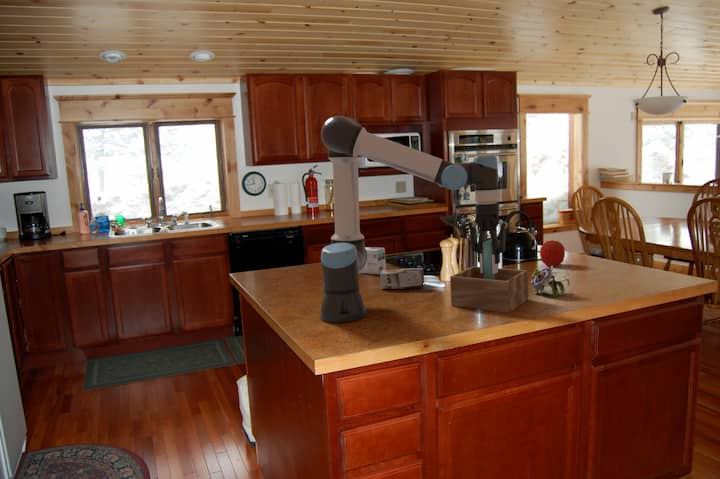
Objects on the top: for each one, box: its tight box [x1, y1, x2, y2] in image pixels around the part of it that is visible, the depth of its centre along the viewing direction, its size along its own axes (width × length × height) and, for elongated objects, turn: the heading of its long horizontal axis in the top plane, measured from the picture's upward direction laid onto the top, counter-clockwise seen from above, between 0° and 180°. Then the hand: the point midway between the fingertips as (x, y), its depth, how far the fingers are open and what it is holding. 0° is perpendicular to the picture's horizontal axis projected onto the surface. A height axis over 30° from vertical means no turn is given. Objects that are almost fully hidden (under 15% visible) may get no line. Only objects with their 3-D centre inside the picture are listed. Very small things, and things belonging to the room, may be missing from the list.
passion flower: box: [530, 265, 571, 299], centre depth 192 cm, size 11×11×12 cm
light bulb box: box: [358, 246, 387, 275], centre depth 245 cm, size 11×7×11 cm, turn 58°
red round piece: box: [539, 239, 566, 268], centre depth 235 cm, size 10×10×12 cm
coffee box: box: [379, 267, 425, 290], centre depth 216 cm, size 9×6×16 cm
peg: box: [483, 240, 495, 280], centre depth 185 cm, size 4×4×14 cm
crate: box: [449, 265, 529, 314], centre depth 186 cm, size 17×20×10 cm
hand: (489, 272), depth 185 cm, fingers closed on peg, 3 cm apart
